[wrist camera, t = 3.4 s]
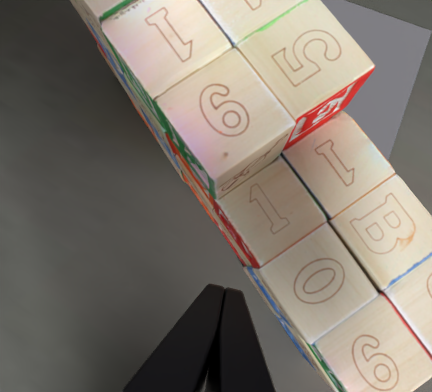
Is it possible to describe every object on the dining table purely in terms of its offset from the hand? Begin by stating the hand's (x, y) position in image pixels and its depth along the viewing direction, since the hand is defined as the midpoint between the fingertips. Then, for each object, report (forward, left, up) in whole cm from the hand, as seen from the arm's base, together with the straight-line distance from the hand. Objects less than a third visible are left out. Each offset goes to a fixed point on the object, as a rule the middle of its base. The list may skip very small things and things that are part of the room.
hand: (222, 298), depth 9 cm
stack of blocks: (+6, +1, -13) cm, 15 cm away
